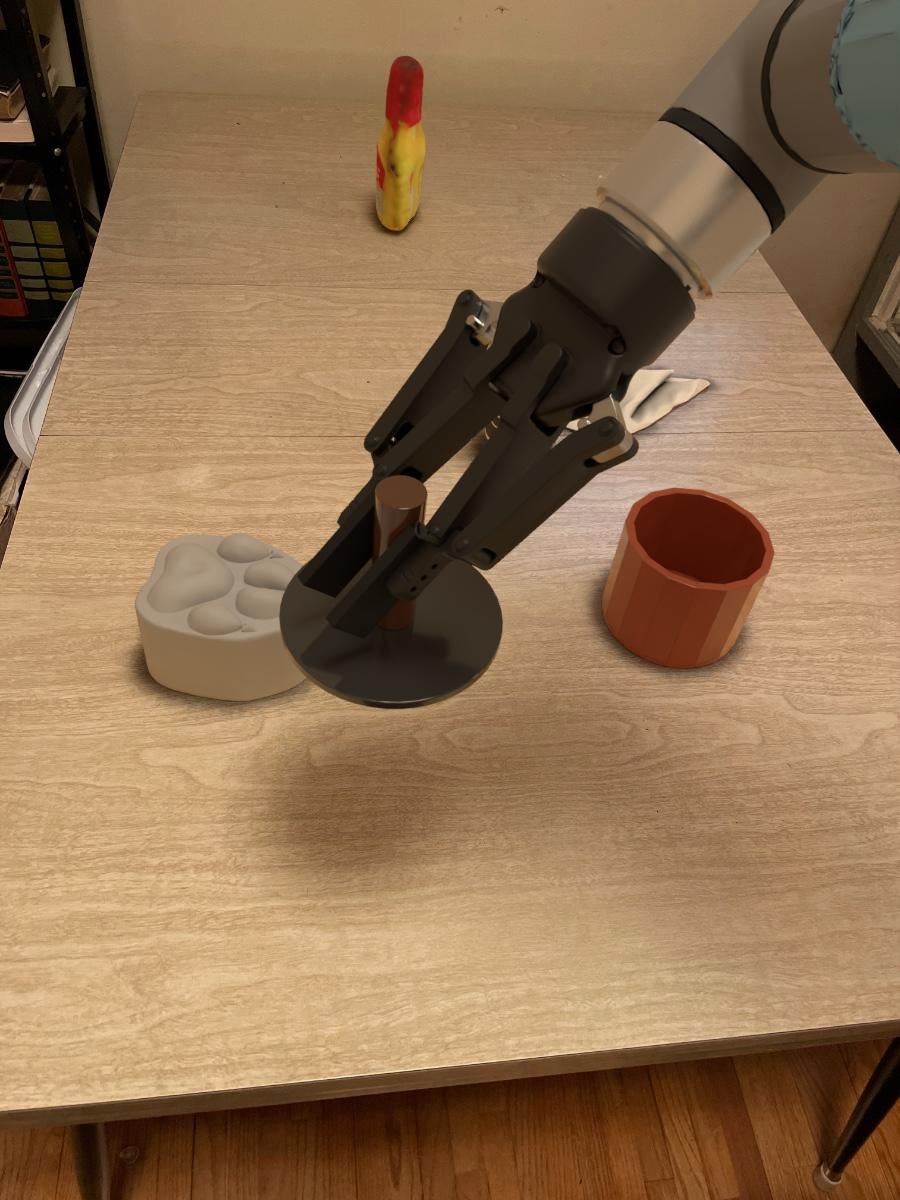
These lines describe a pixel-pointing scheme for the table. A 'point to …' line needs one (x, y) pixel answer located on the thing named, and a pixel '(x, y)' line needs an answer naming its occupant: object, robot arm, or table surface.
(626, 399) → the cloth
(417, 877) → the table surface
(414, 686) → the lid
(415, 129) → the bottle
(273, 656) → the lumpy-topped squat cylinder
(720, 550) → the pot
